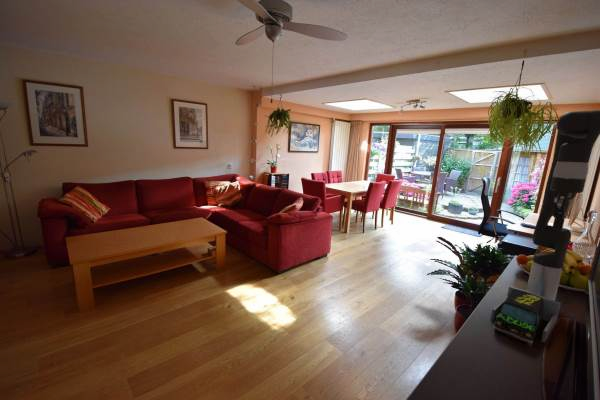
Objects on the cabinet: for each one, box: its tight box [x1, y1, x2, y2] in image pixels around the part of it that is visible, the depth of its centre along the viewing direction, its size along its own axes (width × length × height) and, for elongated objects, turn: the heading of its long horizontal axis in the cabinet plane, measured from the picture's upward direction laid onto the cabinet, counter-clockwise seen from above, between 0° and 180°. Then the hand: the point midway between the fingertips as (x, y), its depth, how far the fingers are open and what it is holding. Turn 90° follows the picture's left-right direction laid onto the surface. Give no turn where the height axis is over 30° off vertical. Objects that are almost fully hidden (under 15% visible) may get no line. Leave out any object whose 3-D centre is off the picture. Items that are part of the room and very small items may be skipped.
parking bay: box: [490, 285, 562, 343], centre depth 98 cm, size 19×15×8 cm
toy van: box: [492, 288, 543, 348], centre depth 95 cm, size 11×25×10 cm, turn 132°
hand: (557, 229), depth 87 cm, fingers closed
